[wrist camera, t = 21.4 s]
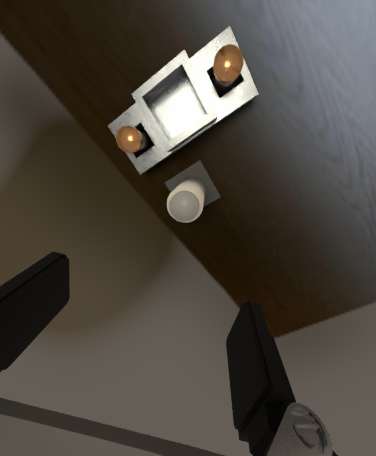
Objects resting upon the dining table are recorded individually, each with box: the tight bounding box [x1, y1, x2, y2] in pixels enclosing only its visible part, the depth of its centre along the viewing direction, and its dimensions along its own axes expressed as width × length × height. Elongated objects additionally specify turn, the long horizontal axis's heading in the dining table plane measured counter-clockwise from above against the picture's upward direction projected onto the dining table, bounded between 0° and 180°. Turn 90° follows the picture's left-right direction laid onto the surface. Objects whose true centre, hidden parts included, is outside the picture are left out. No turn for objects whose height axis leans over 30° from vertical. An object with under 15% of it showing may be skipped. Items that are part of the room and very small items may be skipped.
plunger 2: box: [213, 44, 243, 94], centre depth 27 cm, size 4×4×8 cm
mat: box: [165, 160, 221, 207], centre depth 38 cm, size 8×8×1 cm
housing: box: [108, 26, 258, 174], centre depth 30 cm, size 22×9×8 cm, turn 122°
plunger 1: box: [116, 126, 152, 153], centre depth 32 cm, size 4×4×8 cm
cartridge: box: [167, 177, 206, 222], centre depth 31 cm, size 5×5×13 cm
